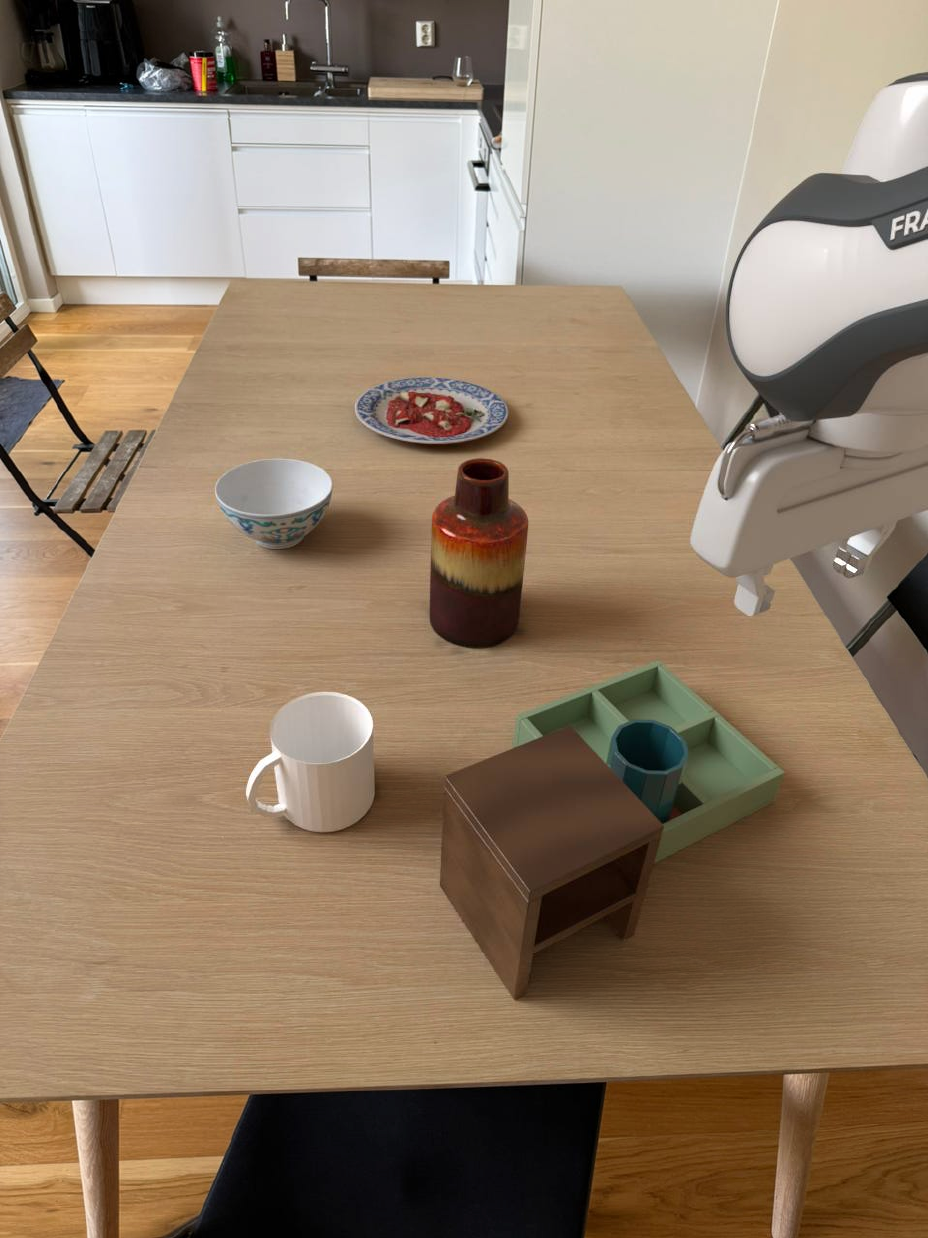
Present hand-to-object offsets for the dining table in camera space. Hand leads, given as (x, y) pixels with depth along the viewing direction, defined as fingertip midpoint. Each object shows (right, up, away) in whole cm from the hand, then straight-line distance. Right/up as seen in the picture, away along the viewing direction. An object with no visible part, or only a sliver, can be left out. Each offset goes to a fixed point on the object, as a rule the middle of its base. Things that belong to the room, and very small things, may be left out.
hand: (801, 590), depth 60 cm
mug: (-37, -19, +24) cm, 48 cm away
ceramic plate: (-28, +32, +91) cm, 100 cm away
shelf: (-17, -27, +16) cm, 35 cm away
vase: (-21, -2, +48) cm, 52 cm away
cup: (-7, -20, +24) cm, 32 cm away
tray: (-5, -17, +29) cm, 34 cm away
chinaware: (-48, +9, +60) cm, 78 cm away
